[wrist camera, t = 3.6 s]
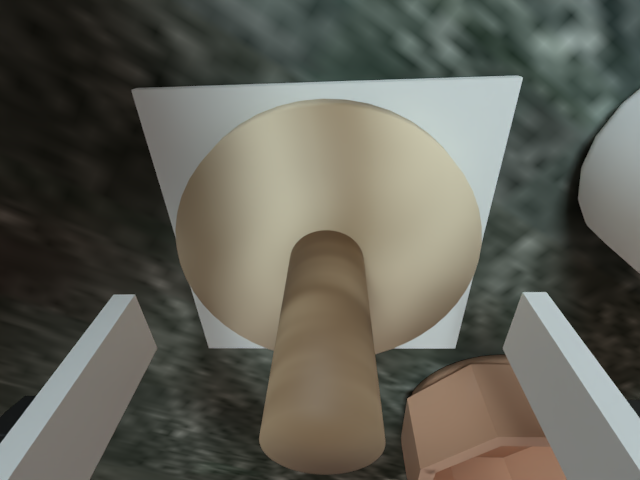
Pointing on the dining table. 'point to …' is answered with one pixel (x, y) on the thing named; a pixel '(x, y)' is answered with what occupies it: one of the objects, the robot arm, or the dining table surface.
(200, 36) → the dining table surface
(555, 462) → the bowl
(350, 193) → the lid
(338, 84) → the mat
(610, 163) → the white bottle
